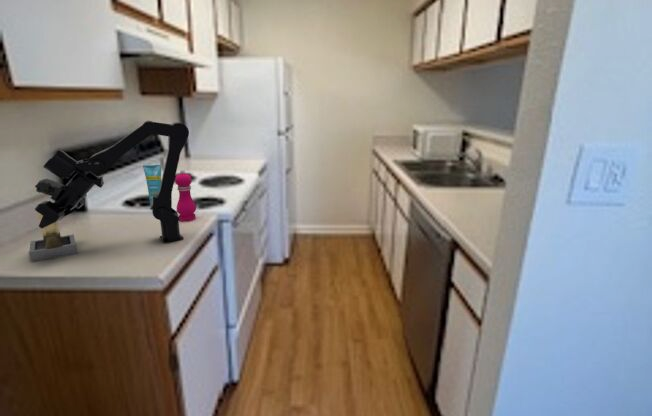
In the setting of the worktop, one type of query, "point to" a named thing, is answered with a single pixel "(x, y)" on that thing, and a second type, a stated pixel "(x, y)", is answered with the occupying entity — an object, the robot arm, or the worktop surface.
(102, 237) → the worktop surface
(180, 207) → the pepper mill
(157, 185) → the tube
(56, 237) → the beige tall cylinder
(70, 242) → the collar
